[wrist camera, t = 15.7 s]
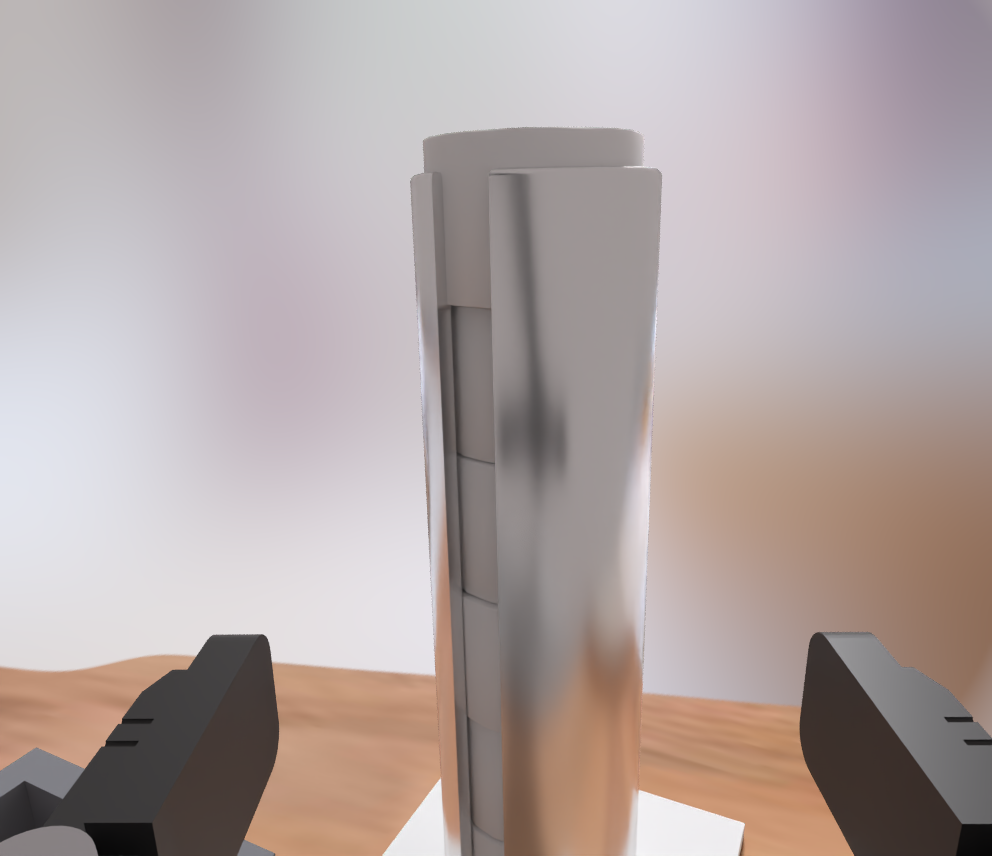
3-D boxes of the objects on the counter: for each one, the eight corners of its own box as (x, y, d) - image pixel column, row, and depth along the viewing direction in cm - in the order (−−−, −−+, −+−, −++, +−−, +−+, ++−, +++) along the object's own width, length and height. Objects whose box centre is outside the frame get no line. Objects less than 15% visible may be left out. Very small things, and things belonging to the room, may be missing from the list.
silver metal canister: (673, 939, 25) (719, 121, 18) (491, 1024, 22) (461, 113, 15) (576, 802, 30) (582, 144, 23) (422, 858, 28) (378, 141, 21)
